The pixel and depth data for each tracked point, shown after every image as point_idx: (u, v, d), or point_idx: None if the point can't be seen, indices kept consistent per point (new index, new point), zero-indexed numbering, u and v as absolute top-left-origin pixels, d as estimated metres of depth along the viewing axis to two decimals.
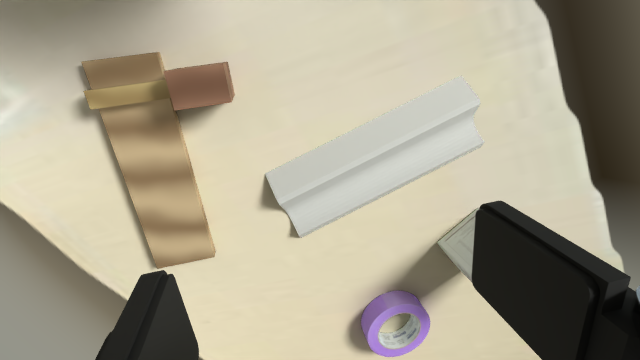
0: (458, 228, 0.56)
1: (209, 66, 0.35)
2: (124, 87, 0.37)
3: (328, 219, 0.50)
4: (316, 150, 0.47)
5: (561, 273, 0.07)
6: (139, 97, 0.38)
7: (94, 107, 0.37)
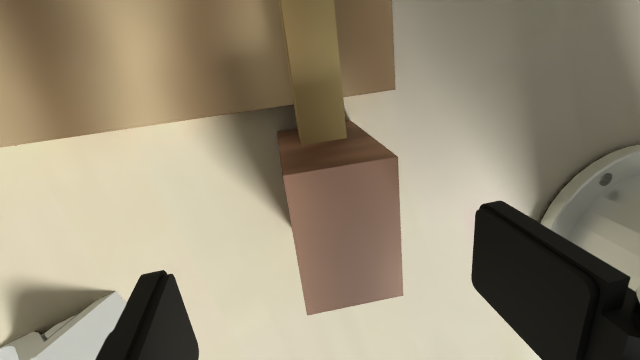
0: None
1: (399, 267, 0.13)
2: (329, 3, 0.13)
3: None
4: None
5: (561, 273, 0.07)
6: (300, 41, 0.13)
7: None
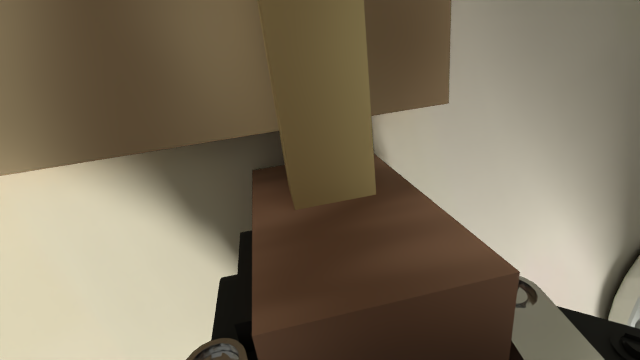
0: None
1: None
2: None
3: None
4: None
5: None
6: (290, 13, 0.06)
7: None
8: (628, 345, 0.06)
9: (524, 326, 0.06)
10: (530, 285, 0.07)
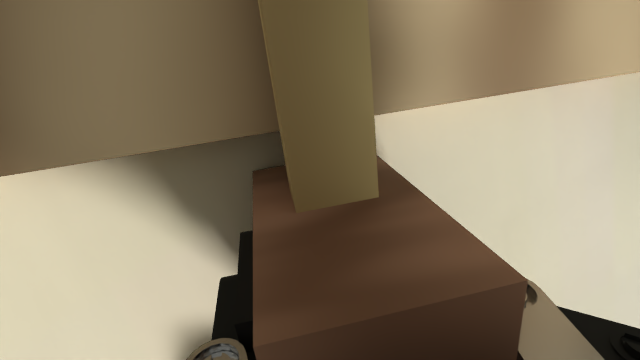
0: None
1: None
2: None
3: None
4: None
5: None
6: (292, 12, 0.06)
7: None
8: (629, 346, 0.06)
9: (524, 326, 0.06)
10: (530, 285, 0.07)
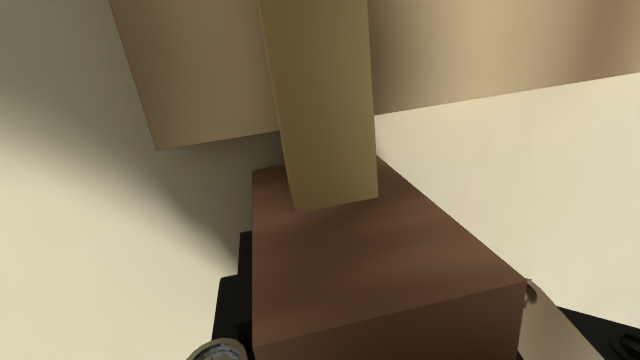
0: None
1: None
2: None
3: None
4: None
5: None
6: (292, 12, 0.06)
7: None
8: (629, 346, 0.06)
9: (524, 326, 0.06)
10: (530, 285, 0.07)
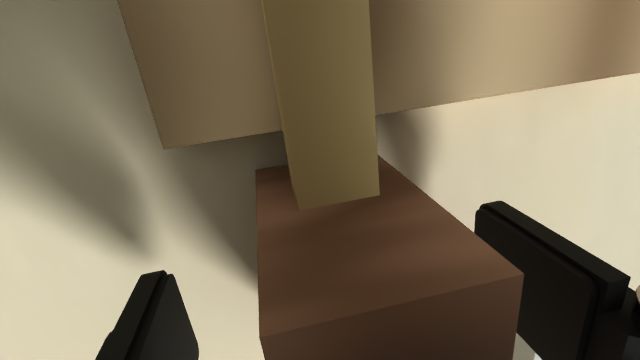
0: None
1: None
2: None
3: None
4: None
5: (561, 273, 0.07)
6: (296, 14, 0.06)
7: None
8: None
9: None
10: None
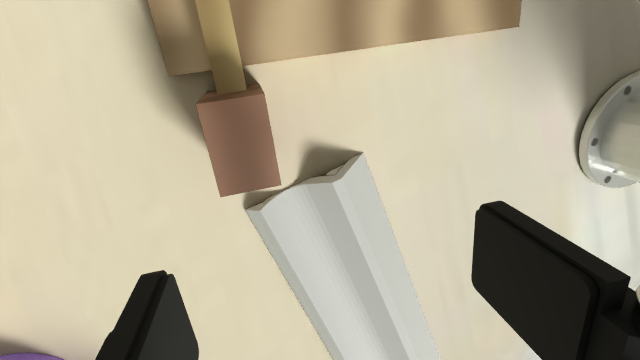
0: None
1: (275, 165, 0.22)
2: (226, 4, 0.21)
3: (286, 253, 0.30)
4: (388, 223, 0.33)
5: (561, 273, 0.07)
6: (210, 27, 0.21)
7: None
8: None
9: None
10: None
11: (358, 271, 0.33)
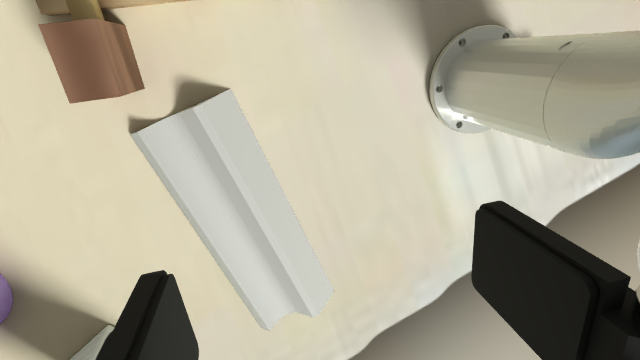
0: None
1: (113, 79, 0.28)
2: None
3: (166, 172, 0.36)
4: (261, 153, 0.39)
5: (561, 273, 0.07)
6: None
7: None
8: None
9: None
10: None
11: (233, 193, 0.38)
